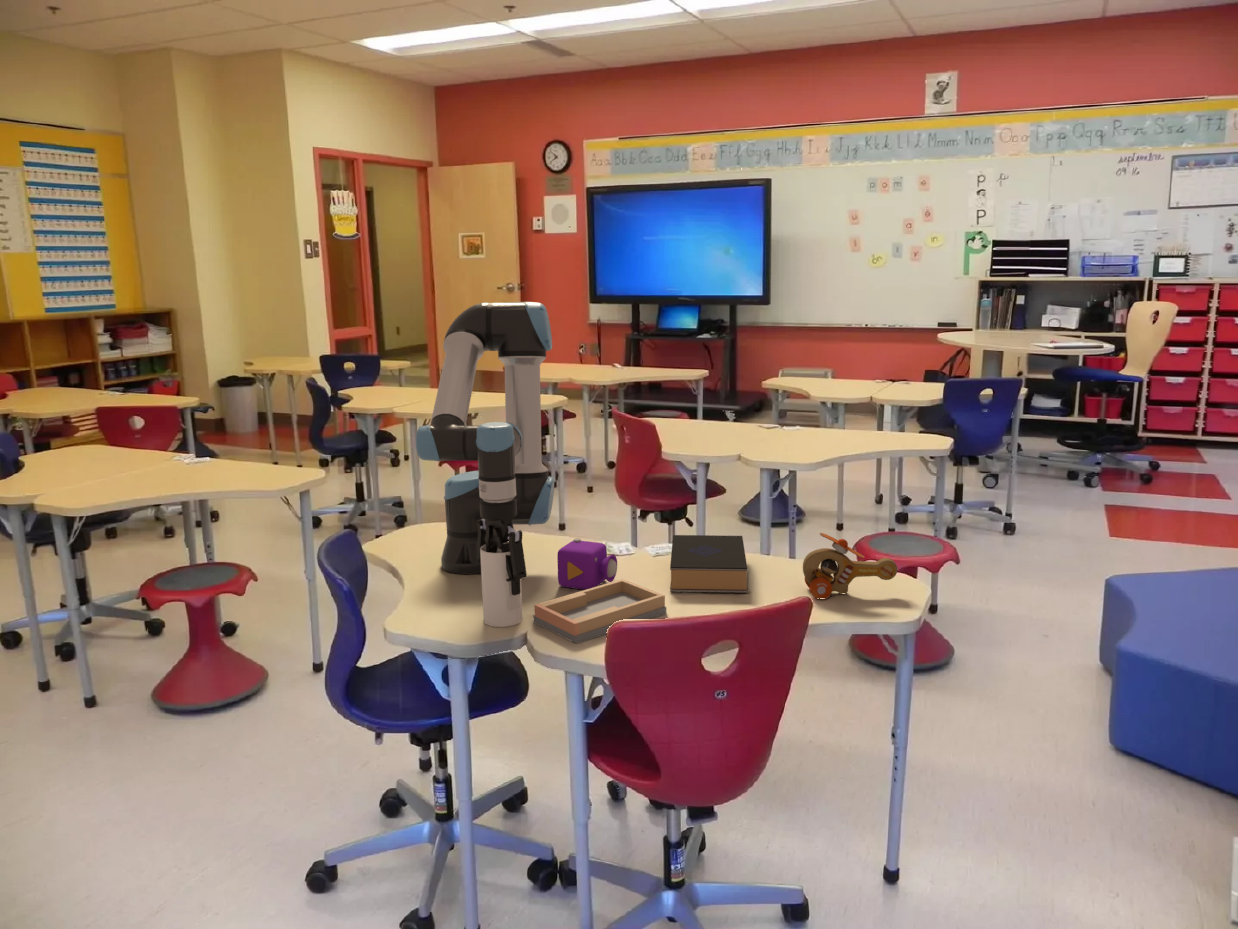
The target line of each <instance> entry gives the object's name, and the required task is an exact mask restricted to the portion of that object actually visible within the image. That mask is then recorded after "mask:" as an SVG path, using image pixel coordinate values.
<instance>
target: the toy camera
mask: <svg viewBox="0 0 1238 929" xmlns="http://www.w3.org/2000/svg"><path fill="white" fill-rule="evenodd" d="M607 550H608V549H607V546H606V544H604V543H602V542H597V541H588V540H582V539H581V538H573V540H572V541H570V542H568V543H567V544H565V545H564V546H562V547H560V548H559V549H558V551H557V557H556V558H557V580H558V585H559V586H560V587H563V588H569V589H575V590H576V589H577V590H582V591H583V590H587V589H590V588H594V587H597V586H600V585H602V584H603V583H604V581H607V582H608V583H611V582H614V581H615V578H616V577H617V572H618V559H617V556H616V555H615V554H613V553H612V554H609V555H608V551H607Z"/></svg>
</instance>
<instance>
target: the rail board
mask: <svg viewBox="0 0 1238 929" xmlns="http://www.w3.org/2000/svg"><path fill="white" fill-rule="evenodd" d="M665 601H666V595H664V594H663V593H660V592H657V591H655V590H652V589H650V588H647V587H644V586H642V585H639V584H637V583H635V582H631V581H629V580H627V579H623V578H622V579H618V580H613V581H612V582H608V583H604V584H600V585H599V586H597V587H594V588H590V589H587V590H583V589H582V590H580V591H577V592H574V593H571V594H567V595H564V596H560V597H559V596H558V597H556V598H554V599H550V600H547V601H542V602H539V603H535V604H534V614H533V617H532V618H533V623H535V624H536V625H539V626H540V627H542V628H545V629H546V630H547V631H548V630H549V631H550V632H552V633H554V634H557V635H559V636H561V637H562V638H564V639H566V640H568V641H571V642H572V643H574V644H580V643H583V642H587V641H589V640H591V639H595V638H598V637H600V636H604V635H607V634H606V632H607V629H608V628H609V626H611V625H612V624H613V623H614V622H616V621H619V620H623V619H649V620H651V619H655V618H657V617H660V616H663V615H666V614H667V606H666V602H665Z"/></svg>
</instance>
